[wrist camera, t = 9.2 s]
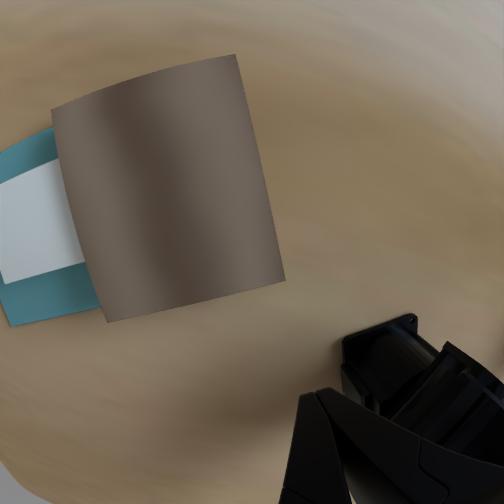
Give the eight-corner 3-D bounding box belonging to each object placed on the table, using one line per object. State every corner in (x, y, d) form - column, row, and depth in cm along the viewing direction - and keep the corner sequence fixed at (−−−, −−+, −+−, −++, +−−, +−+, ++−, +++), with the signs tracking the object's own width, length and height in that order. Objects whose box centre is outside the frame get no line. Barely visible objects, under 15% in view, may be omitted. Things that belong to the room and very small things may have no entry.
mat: (70, 121, 16) (67, 120, 16) (117, 300, 19) (115, 303, 19) (-30, 172, 16) (-34, 172, 15) (14, 323, 19) (11, 326, 18)
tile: (78, 157, 16) (65, 155, 15) (101, 251, 18) (90, 260, 16) (-3, 191, 16) (-20, 194, 14) (19, 275, 18) (4, 284, 16)
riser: (230, 74, 17) (235, 54, 14) (272, 262, 20) (285, 280, 17) (75, 119, 16) (51, 110, 13) (122, 299, 19) (107, 322, 16)
